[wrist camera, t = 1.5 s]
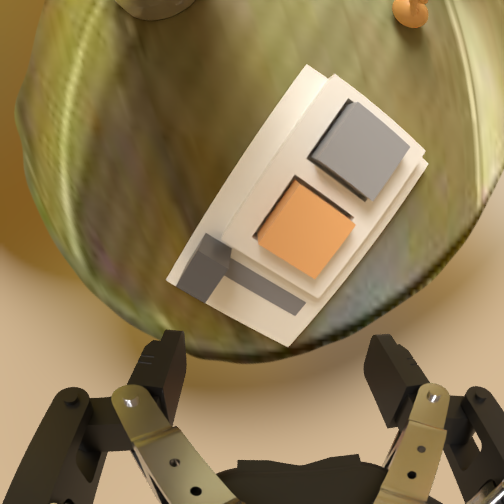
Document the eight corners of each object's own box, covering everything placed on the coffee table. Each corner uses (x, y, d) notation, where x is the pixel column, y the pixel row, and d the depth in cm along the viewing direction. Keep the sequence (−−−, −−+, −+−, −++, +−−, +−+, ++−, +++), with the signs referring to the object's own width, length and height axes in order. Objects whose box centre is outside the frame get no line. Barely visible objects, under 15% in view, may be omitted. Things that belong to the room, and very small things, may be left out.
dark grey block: (186, 264, 32) (175, 286, 27) (205, 232, 30) (197, 250, 26) (211, 279, 32) (205, 303, 27) (231, 248, 31) (228, 268, 26)
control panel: (169, 274, 34) (159, 290, 30) (304, 67, 26) (311, 57, 23) (286, 339, 37) (290, 360, 33) (421, 162, 29) (440, 166, 26)
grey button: (310, 156, 27) (317, 159, 24) (346, 105, 25) (357, 101, 22) (360, 194, 28) (373, 201, 25) (394, 144, 26) (410, 146, 23)
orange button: (257, 232, 29) (258, 244, 26) (294, 179, 27) (299, 184, 24) (308, 265, 30) (314, 279, 27) (345, 215, 29) (356, 225, 26)
